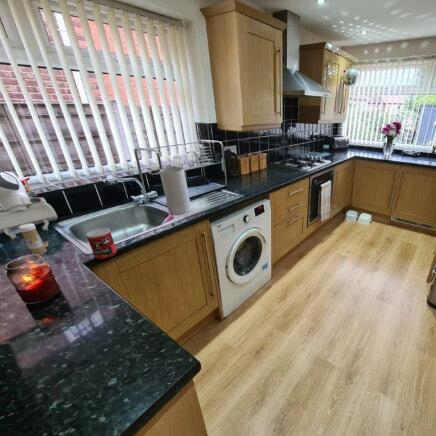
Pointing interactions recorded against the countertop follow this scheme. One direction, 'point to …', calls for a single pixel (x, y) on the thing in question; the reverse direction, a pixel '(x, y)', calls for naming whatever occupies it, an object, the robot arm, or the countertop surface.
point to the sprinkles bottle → (32, 238)
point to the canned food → (101, 243)
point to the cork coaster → (45, 244)
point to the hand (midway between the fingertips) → (30, 234)
